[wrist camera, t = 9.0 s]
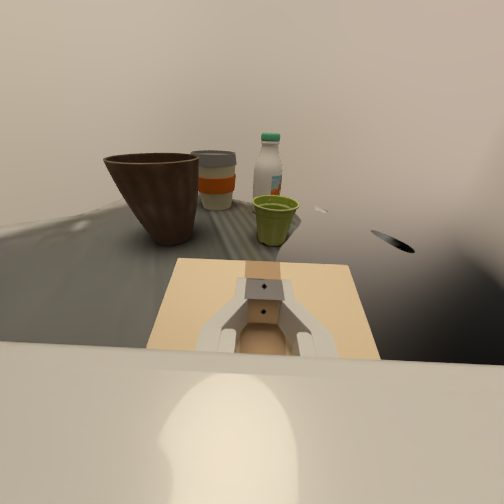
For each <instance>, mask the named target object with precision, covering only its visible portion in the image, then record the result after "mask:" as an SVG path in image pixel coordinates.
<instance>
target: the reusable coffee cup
mask: <svg viewBox="0 0 504 504" xmlns="http://www.w3.org/2000/svg"><path fill="white" fill-rule="evenodd" d="M191 155H196V156H198V157H199V181H198V191H199V192H200V196H201V200H202V204H203V207H204V208H205V209H208V210H225V209H228V208H230V207H231V204H232V193H233V191H234V187H235V177H236V176H235V174H234V173H235V165H236V157H235V153H234V152H229V151H213V150H208V151H206V150H204V151H193V152H191Z"/></svg>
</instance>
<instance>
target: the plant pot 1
mask: <svg viewBox="0 0 504 504" xmlns="http://www.w3.org/2000/svg"><path fill="white" fill-rule="evenodd" d="M103 161H104V163H105V165H106V167H107V169H108V171H109V172H110V175H111V176H112V178H113V180H114V182H115V183H116V186H117V187H118V189H119V191H120V192H121V194H122V196H123V197H124V199H125V201H126V202H127V204H128V205H129V207H130V208H131V210H132V211H133V213H134V214H135V216H136V217H137V219H138V220H139V221H140V223H141V224H142V225H143V227H144V228H145V229H146V231H147V232H148V233H149V234H150V235H151V237H152V238H153V239H154V240H155V241H156V242H157V243H158V244H161V245H166V246H170V245H177V244H180V243H183V242H185V241H187V240H188V239H189V238H190V237H191V233H192V229H193V225H194V220H195V214H196V207H197V197H198V181H199V157H198V156H196V155H191V154H181V153H141V154H126V155H117V156H110V157H107V158H104V159H103Z"/></svg>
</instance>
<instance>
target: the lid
mask: <svg viewBox="0 0 504 504" xmlns="http://www.w3.org/2000/svg"><path fill="white" fill-rule="evenodd" d="M238 277H241V278H246V279H247V278H258V279H279V280H281V279H285V280H291V284H292V288H293V293H294V297H295V301H298V302H299V303H300V304H301V305H302V306H303V307H304V308H305V309H306V310H308V311H309V312H310V313H311V314H312V315H313V316H314V317H315V318H316V319H317V320H318V321H319V322H320V323H321V324H322V325H323V326H324V327H325V328H326V329H327V330H329V331H330V332H331V334H332V337H333V339H334V342H335V345H336V348H337V351H338V353H339V356H340V358H353V359H374V360H381V359H380V356H379V353H378V350H377V348H376V345H375V342H374V339H373V336H372V333H371V330H370V327H369V325H368V322H367V319H366V316H365V313H364V310H363V307H362V304H361V302H360V299H359V296H358V293H357V291H356V287H355V284H354V281H353V279H352V276H351V273H350V270H349V267H348V265H333V264H332V265H331V264H308V263H285V262H266V261H238V260H214V259H190V258H178V260H177V263H176V265H175V268H174V271H173V274H172V277H171V279H170V282H169V285H168V288H167V291H166V293H165V296H164V299H163V302H162V305H161V307H160V310H159V313H158V316H157V319H156V321H155V324H154V327H153V330H152V332H151V335H150V338H149V341H148V344H147V346H146V349H166V350H187V351H195V348H196V344H197V341H198V338H199V334H200V331H201V328H202V326H203V325H204V324H205V323H206V322H207V321H208V320H209V319H210V318H211V317H212V316H213V315H215V314H216V313H217V312H218V311H219V310H220V309H221V308H222V307H223V306H224V305H225V304H226V303H227V302H228V301H229V300H230V299H231V298H234V296H235V289H236V283H237V278H238ZM236 348H237V353H249V354H269V355H289V356H291V353H292V349H293V346H292V345H291V343H290V342H289V340H288V339H287V338H286V336H285V335H284V333H283V332H282V330H281V329H280V327H279V326H278V324H271V323H247V324H246V326H245V327H244V328H243V330H242V331H241V333H240V334H239V335H238V337H237V338H236Z"/></svg>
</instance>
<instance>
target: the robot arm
mask: <svg viewBox="0 0 504 504" xmlns="http://www.w3.org/2000/svg"><path fill="white" fill-rule="evenodd" d="M247 323H271V324H278V326H279V327H280V329H281V330H282V332H283V333H284V335H285V336H286V338H287V339H288V340H289V342H290V343H291V345H292V346H293V349H292V353H291V356H289V355H269V354H249V353H237V348H236V338H237V337H238V335H239V334H240V333H241V331H242V330H243V328H244V327H245V326H246V324H247ZM0 504H504V366H498V365H476V364H456V363H434V362H415V361H394V360H374V359H353V358H340V356H339V353H338V351H337V348H336V345H335V342H334V339H333V337H332V334H331V332H330V331H329V330H327V329H326V328H325V327H324V326H323V325H322V324H321V323H320V322H319V321H318V320H317V319H316V318H315V317H314V316H313V315H312V314H311V313H310V312H309V311H308V310H306V309H305V308H304V307H303V306H302V305H301V304H300V303H299V302H298V301H295V297H294V293H293V288H292V284H291V280H285V279H281V280H279V279H258V278H247V279H246V278H241V277H238V278H237V283H236V289H235V296H234V298H231V299H230V300H229V301H228V302H227V303H226V304H225V305H224V306H223V307H222V308H221V309H220V310H219V311H218V312H217V313H216V314H215V315H213V316H212V317H211V318H210V319H209V320H208V321H207V322H206V323H205V324H204V325H203V326H202V328H201V331H200V334H199V338H198V341H197V344H196V348H195V351H187V350H166V349H146V348H125V347H104V346H84V345H63V344H42V343H21V342H4V341H0Z"/></svg>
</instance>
